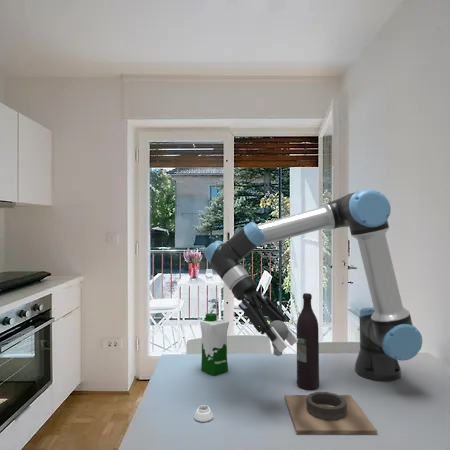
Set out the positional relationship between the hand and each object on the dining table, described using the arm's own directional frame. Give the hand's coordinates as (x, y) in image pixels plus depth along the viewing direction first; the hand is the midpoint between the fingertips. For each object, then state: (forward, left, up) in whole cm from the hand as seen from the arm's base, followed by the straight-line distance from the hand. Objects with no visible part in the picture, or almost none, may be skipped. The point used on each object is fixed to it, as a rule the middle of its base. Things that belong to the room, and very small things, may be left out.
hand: (289, 345), depth 105 cm
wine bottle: (-9, -17, -19) cm, 27 cm away
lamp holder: (-10, +2, -18) cm, 21 cm away
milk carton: (+22, -30, -19) cm, 42 cm away
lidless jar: (+24, +4, -19) cm, 31 cm away
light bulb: (+3, -2, -4) cm, 5 cm away
